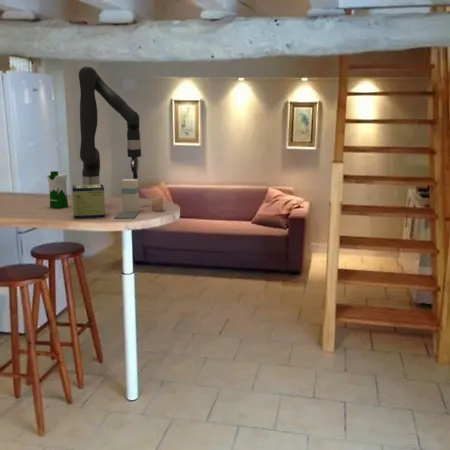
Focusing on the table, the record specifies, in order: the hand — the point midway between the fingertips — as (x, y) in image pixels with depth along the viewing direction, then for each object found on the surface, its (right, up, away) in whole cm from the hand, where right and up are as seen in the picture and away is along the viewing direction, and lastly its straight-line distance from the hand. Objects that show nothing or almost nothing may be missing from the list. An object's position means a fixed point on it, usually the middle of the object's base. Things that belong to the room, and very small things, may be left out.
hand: (135, 179), depth 297 cm
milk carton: (-42, -16, -1) cm, 45 cm away
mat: (0, -21, -24) cm, 32 cm away
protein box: (-19, -21, -25) cm, 38 cm away
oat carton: (0, -18, -12) cm, 22 cm away
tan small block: (+14, -18, -10) cm, 25 cm away
